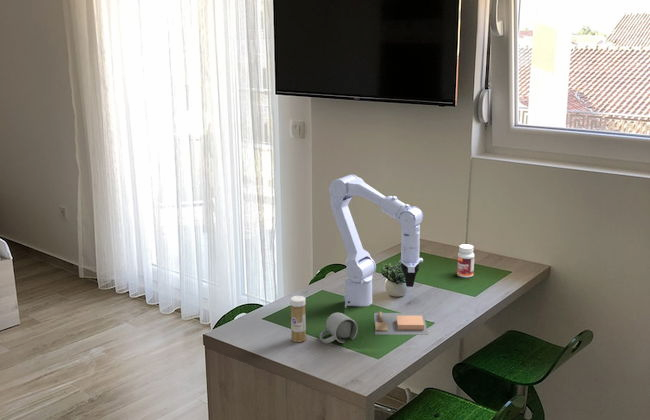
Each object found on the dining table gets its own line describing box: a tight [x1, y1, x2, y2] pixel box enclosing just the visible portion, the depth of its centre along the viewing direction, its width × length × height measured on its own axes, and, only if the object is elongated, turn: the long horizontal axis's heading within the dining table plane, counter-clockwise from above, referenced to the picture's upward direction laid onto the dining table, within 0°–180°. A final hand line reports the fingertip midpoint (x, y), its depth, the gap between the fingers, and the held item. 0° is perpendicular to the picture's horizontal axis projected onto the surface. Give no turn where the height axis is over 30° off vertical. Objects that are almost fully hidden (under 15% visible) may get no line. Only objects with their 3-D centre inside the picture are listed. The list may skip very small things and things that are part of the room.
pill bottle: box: [456, 243, 475, 278], centre depth 257 cm, size 6×6×11 cm
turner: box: [374, 311, 387, 331], centre depth 217 cm, size 4×12×1 cm, turn 177°
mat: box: [373, 312, 429, 336], centre depth 217 cm, size 16×16×1 cm
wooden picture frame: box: [397, 316, 424, 330], centre depth 215 cm, size 8×2×7 cm
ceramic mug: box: [319, 312, 359, 344], centre depth 207 cm, size 11×8×8 cm
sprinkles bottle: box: [289, 295, 307, 343], centre depth 207 cm, size 5×5×14 cm
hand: (409, 286), depth 221 cm, fingers closed
